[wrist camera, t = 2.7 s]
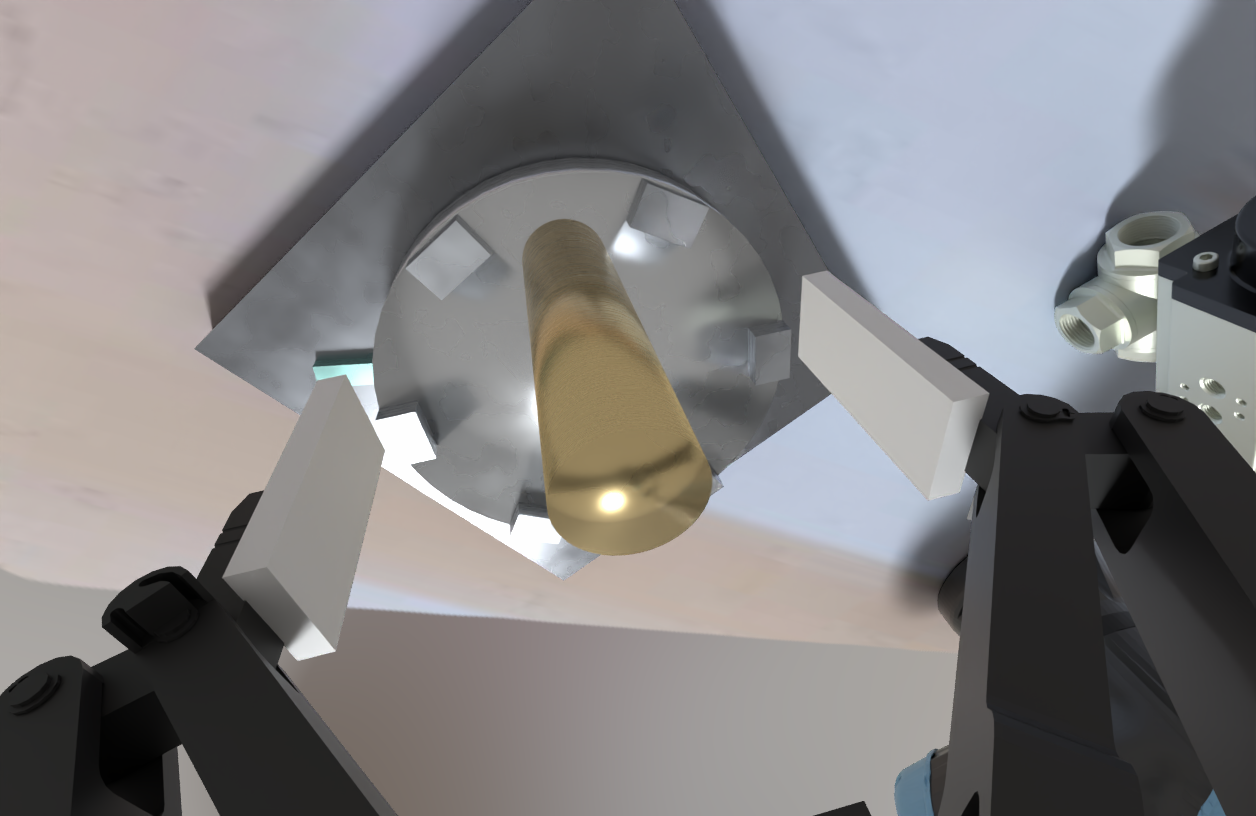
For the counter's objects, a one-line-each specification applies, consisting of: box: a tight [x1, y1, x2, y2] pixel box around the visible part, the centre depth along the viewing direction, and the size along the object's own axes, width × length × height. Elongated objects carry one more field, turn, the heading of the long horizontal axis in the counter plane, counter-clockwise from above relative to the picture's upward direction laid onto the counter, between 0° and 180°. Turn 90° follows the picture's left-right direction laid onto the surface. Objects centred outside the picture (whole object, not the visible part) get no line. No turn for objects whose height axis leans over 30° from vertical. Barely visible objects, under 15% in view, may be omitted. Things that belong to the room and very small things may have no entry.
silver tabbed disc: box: [372, 158, 791, 556], centre depth 23 cm, size 20×20×18 cm
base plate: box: [195, 0, 831, 580], centre depth 31 cm, size 26×26×3 cm
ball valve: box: [1054, 196, 1256, 472], centre depth 30 cm, size 18×8×18 cm, turn 32°
